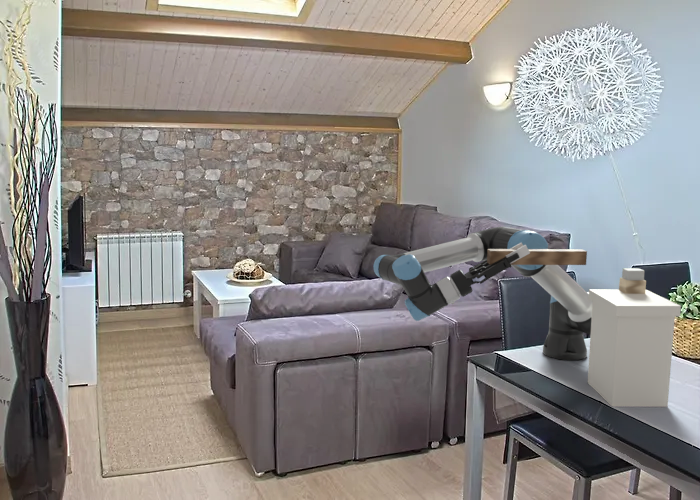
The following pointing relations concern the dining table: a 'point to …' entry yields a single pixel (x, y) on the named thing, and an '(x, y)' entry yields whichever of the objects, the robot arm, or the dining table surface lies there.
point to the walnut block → (542, 256)
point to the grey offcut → (633, 274)
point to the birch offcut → (632, 286)
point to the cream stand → (631, 347)
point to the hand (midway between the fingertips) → (525, 247)
